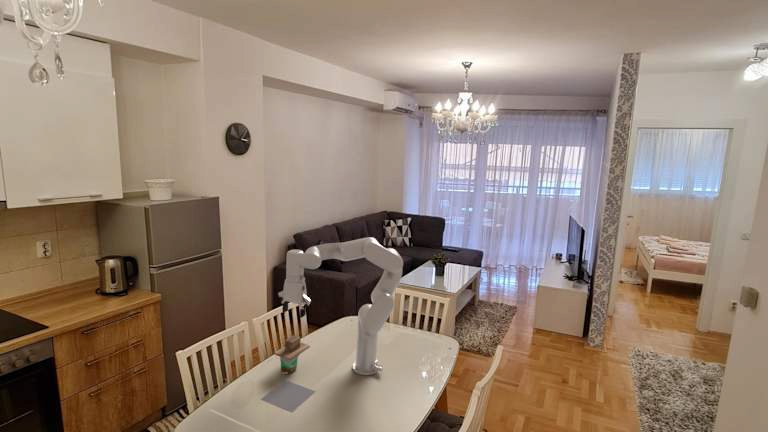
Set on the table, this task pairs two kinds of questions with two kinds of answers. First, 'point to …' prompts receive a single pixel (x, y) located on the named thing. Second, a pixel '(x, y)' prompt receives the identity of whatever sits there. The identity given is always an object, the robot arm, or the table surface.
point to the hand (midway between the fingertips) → (293, 313)
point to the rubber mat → (288, 396)
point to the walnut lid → (292, 348)
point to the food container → (288, 365)
